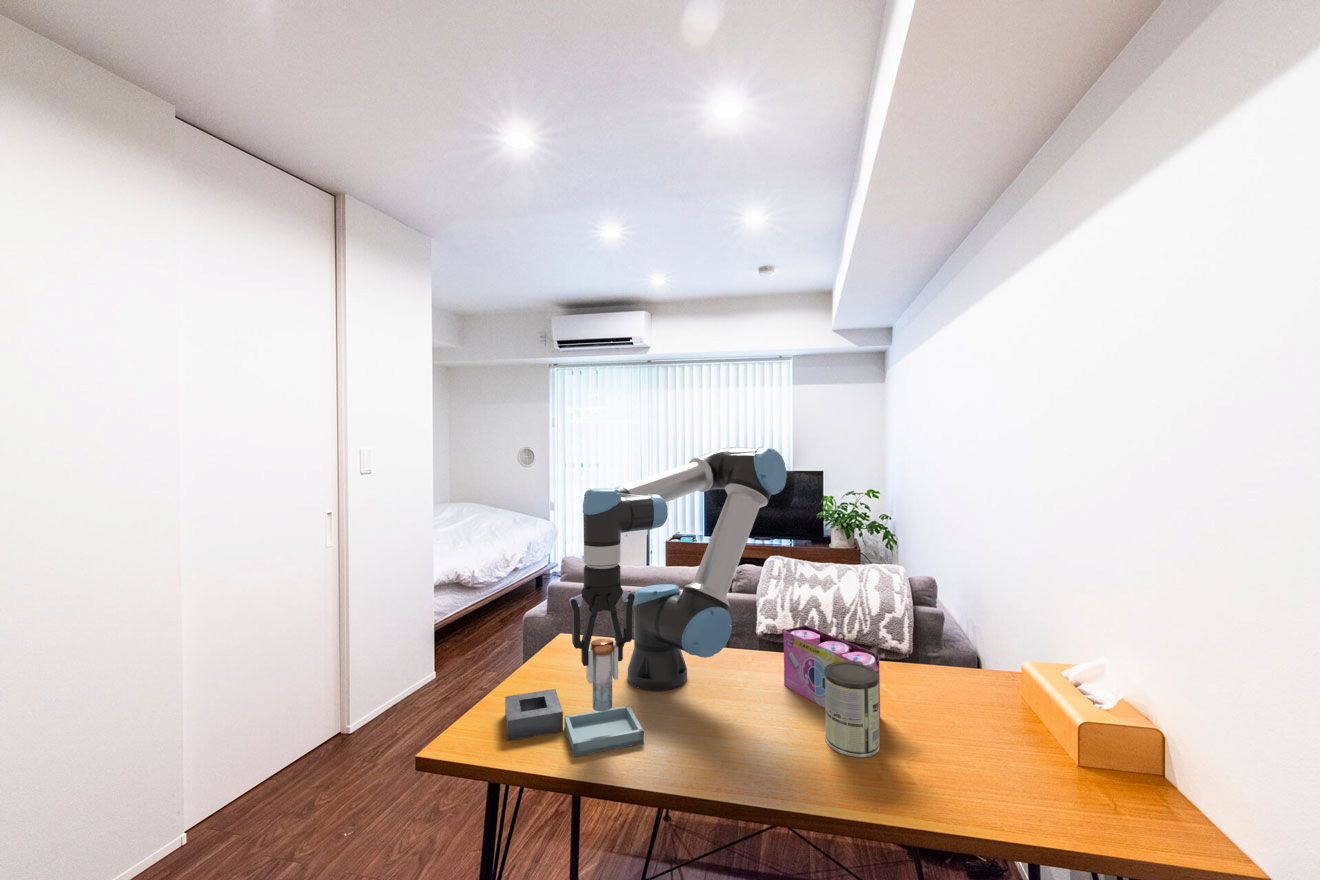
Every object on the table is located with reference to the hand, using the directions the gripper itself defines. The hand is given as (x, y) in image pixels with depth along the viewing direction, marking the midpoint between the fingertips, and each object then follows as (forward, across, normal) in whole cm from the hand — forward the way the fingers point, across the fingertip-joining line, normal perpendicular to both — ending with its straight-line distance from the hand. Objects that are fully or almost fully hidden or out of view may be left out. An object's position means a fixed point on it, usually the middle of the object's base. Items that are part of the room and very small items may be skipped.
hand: (602, 678), depth 111 cm
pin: (+6, 0, 0) cm, 6 cm away
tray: (+12, 0, 0) cm, 12 cm away
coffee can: (+12, -46, +19) cm, 51 cm away
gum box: (+12, -53, +2) cm, 54 cm away
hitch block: (+12, +13, -10) cm, 20 cm away
